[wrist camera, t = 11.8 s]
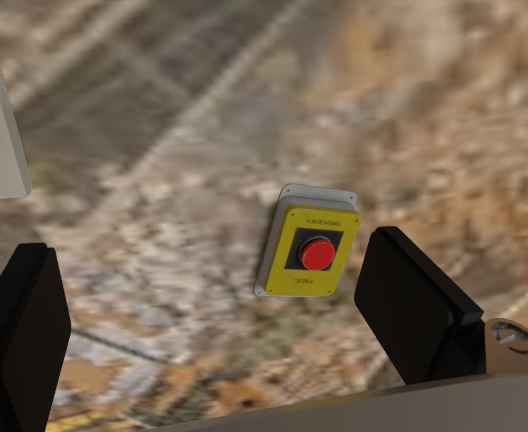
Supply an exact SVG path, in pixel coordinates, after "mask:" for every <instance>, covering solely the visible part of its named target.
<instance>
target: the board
mask: <svg viewBox="0 0 528 432" xmlns="http://www.w3.org/2000/svg"><path fill="white" fill-rule="evenodd" d="M32 189H33V185H32V181H31V177H30V173H29V170H28V166H27V162H26V158H25V155H24V151H23V147H22V144H21V140H20V136H19V132H18V129H17V125H16V121H15V117H14V114H13V110H12V106H11V103H10V99H9V95H8V91H7V88H6V84H5V80H4V76H3V73H2V69H1V65H0V199H5V198H21V197H27V196H28V195H29V193H30V192H31V190H32Z"/></svg>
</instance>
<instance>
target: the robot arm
mask: <svg viewBox="0 0 528 432" xmlns="http://www.w3.org/2000/svg"><path fill="white" fill-rule="evenodd" d="M354 301H355V304H356V306H357V308H358V309H359V311H360V313H361V314H362V316H363V317H364V319H365V321H366V322H367V324H368V325H369V327H370V328H371V330H372V332H373V333H374V335H375V336H376V338H377V340H378V341H379V343H380V344H381V346H382V347H383V349H384V351H385V352H386V354H387V355H388V357H389V359H390V360H391V362H392V363H393V365H394V366H395V368H396V370H397V371H398V373H399V374H400V376H401V378H402V379H403V381H404V382H405V384H406V385H405V386H399V387H393V388H386V389H380V390H374V391H368V392H362V393H356V394H350V395H344V396H338V397H332V398H326V399H320V400H314V401H308V402H302V403H296V404H290V405H284V406H279V407H273V408H267V409H261V410H255V411H249V412H243V413H238V414H232V415H226V416H220V417H215V418H209V419H203V420H197V421H192V422H186V423H180V424H175V425H169V426H163V427H157V428H152V429H146V430H140V431H135V432H528V328H526V327H525V326H523V325H521V324H519V323H517V322H514V321H512V320H508V319H504V318H493V319H489V320H488V321H487V322H486V323H484V322H483V321H482V320H481V317H482V315H483V313H484V311H483V310H482V309H481V308H480V307H479V306H478V305H477V304H476V303H475V302H474V301H473V300H472V299H471V298H470V297H469V296H468V295H467V294H466V293H465V292H464V291H462V290H461V289H460V288H459V287H458V286H457V285H456V284H455V283H454V282H453V281H452V280H451V279H450V278H449V277H448V276H447V275H446V274H445V273H444V272H443V271H442V270H441V269H440V268H439V267H438V266H437V265H436V264H435V263H434V262H433V261H432V260H431V259H430V258H429V257H428V256H427V255H426V254H425V253H424V252H423V251H422V250H420V249H419V248H418V247H417V246H416V245H415V244H414V243H413V242H412V241H411V240H410V239H409V238H408V237H407V236H406V235H405V234H404V233H403V232H402V231H401V230H400V229H399V228H398V227H396V226H386V227H378V228H377V229H376V230H375V231H374V232H372V233H371V236H370V239H369V243H368V246H367V250H366V254H365V257H364V261H363V264H362V268H361V272H360V275H359V279H358V283H357V286H356V290H355V293H354ZM70 334H71V320H70V316H69V311H68V307H67V302H66V297H65V293H64V288H63V284H62V279H61V275H60V270H59V265H58V261H57V256H56V252H55V249H54V248H47V245H46V244H45V243H25V244H19V245H18V246H17V248H16V249H15V251H14V253H13V255H12V256H11V258H10V260H9V262H8V263H7V265H6V267H5V269H4V270H3V272H2V274H1V276H0V432H45V429H46V425H47V421H48V417H49V414H50V410H51V406H52V402H53V399H54V395H55V391H56V387H57V383H58V380H59V376H60V372H61V368H62V365H63V361H64V357H65V353H66V350H67V346H68V342H69V338H70Z"/></svg>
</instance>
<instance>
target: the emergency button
mask: <svg viewBox="0 0 528 432" xmlns="http://www.w3.org/2000/svg"><path fill="white" fill-rule="evenodd" d="M356 200H357V196H356V194H355V193H354V192H352V191H347V190H339V189H331V188H324V187H316V186H308V185H300V184H292V183H291V184H287V185H285V186H284V187H283V189H282V191H281V193H280V197H279V200H278V204H277V207H276V211H275V215H274V218H273V222H272V226H271V229H270V233H269V237H268V240H267V244H266V248H265V251H264V255H263V258H262V262H261V266H260V269H259V273H258V277H257V280H256V284H255V288H254V293H255V294H256V295H257V296H263V297H317V296H329V295H331V294H333V292H334V291H335V288H336V286H337V283H338V281H339V278H340V275H341V273H342V270H343V268H344V265H345V263H346V260H347V257H348V255H349V252H350V250H351V247H352V245H353V242H354V239H355V237H356V234H357V232H358V229H359V227H360V224H361V220H362V218H361V216H360V215H359V213H358V212H357V211H356V210H355V208H354V206H355V203H356Z"/></svg>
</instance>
